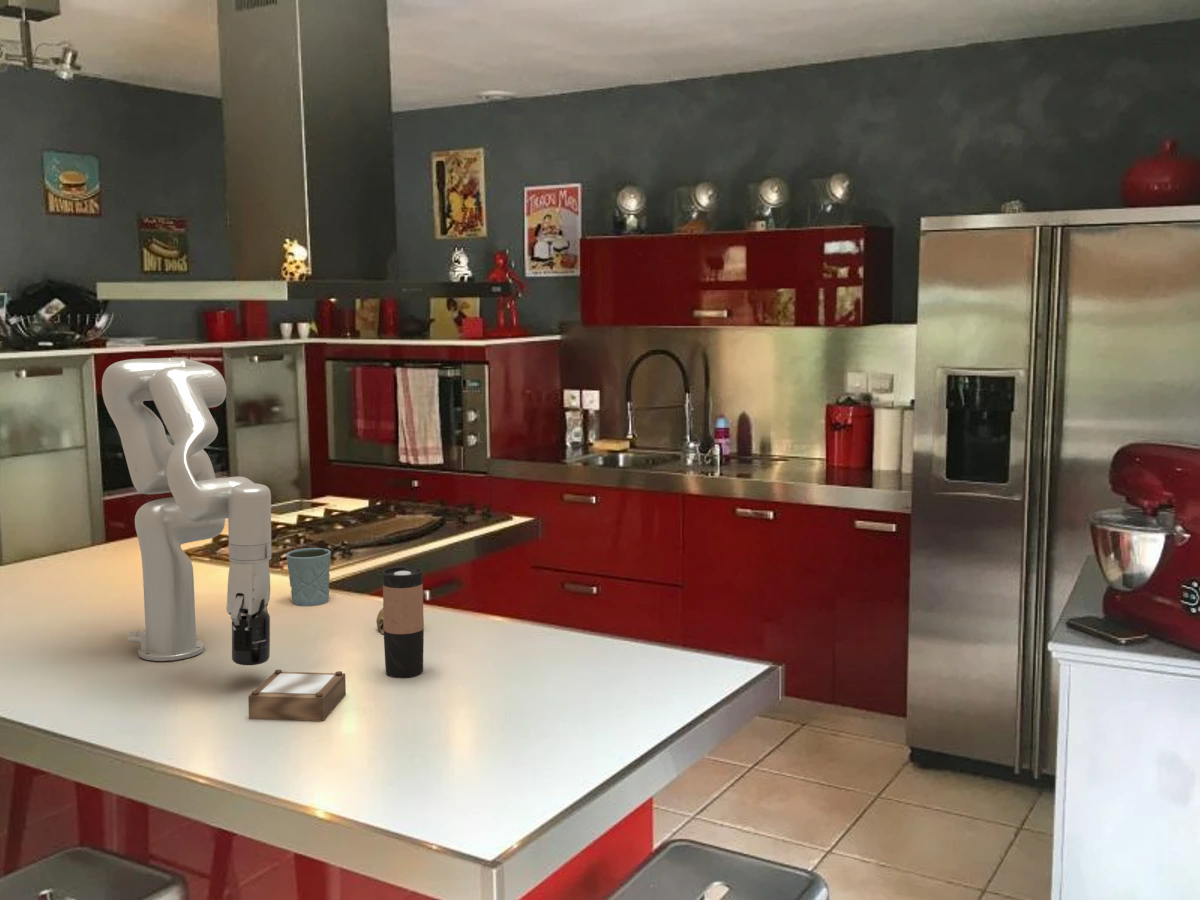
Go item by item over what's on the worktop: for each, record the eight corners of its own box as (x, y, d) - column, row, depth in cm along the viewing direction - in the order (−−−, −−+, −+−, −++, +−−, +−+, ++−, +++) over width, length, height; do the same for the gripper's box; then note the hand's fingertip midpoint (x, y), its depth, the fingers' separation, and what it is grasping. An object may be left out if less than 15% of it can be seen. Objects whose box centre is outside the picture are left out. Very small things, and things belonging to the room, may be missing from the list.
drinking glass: (340, 600, 272) (339, 551, 270) (308, 609, 263) (307, 559, 262) (310, 594, 277) (309, 546, 276) (278, 603, 269) (277, 553, 267)
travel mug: (391, 680, 214) (389, 577, 212) (379, 669, 221) (377, 568, 218) (429, 674, 218) (428, 572, 215) (417, 663, 224) (415, 564, 222)
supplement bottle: (258, 668, 208) (258, 605, 207) (224, 664, 210) (224, 601, 208) (276, 656, 215) (276, 594, 213) (243, 652, 216) (243, 591, 215)
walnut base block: (249, 718, 195) (248, 693, 194) (276, 692, 207) (275, 668, 207) (323, 720, 194) (322, 695, 193) (345, 694, 206) (345, 670, 206)
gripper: (248, 539, 218) (249, 628, 221) (210, 561, 201) (212, 658, 204) (286, 541, 217) (286, 630, 220) (252, 564, 200) (253, 660, 203)
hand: (251, 643), depth 212 cm, fingers closed on supplement bottle, 6 cm apart
